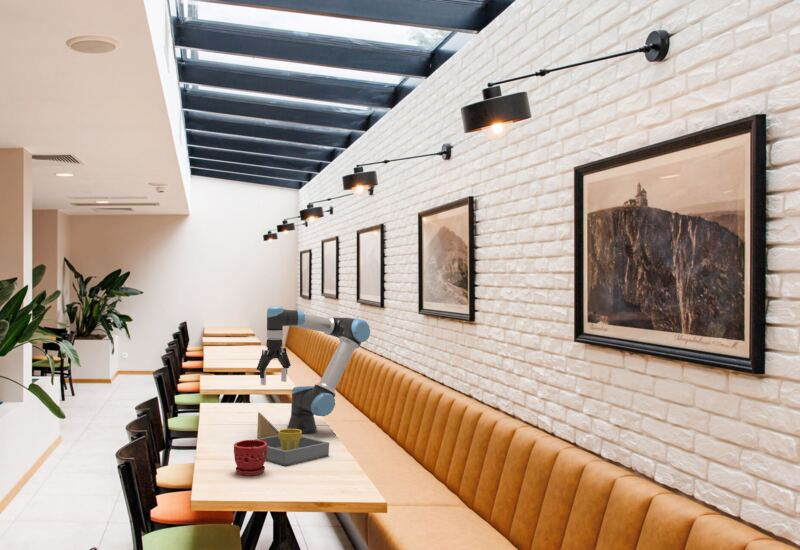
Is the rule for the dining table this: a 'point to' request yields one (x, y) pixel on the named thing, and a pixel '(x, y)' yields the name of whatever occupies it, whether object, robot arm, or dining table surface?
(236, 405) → the dining table surface
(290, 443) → the plant pot
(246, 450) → the plant pot
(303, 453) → the crate
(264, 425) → the sandwich container
